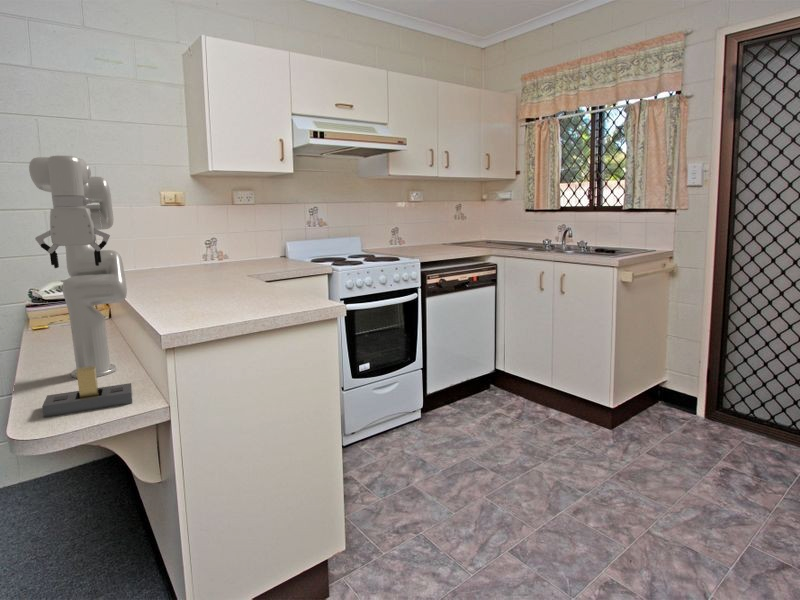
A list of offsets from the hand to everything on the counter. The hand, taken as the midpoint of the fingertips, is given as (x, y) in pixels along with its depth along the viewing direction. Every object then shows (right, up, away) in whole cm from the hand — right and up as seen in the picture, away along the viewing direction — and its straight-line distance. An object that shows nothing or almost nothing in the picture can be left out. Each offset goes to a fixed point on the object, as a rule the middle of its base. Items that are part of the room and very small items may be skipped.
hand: (77, 266), depth 144 cm
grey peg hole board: (+6, -37, -3) cm, 38 cm away
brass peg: (+6, -37, -3) cm, 38 cm away
